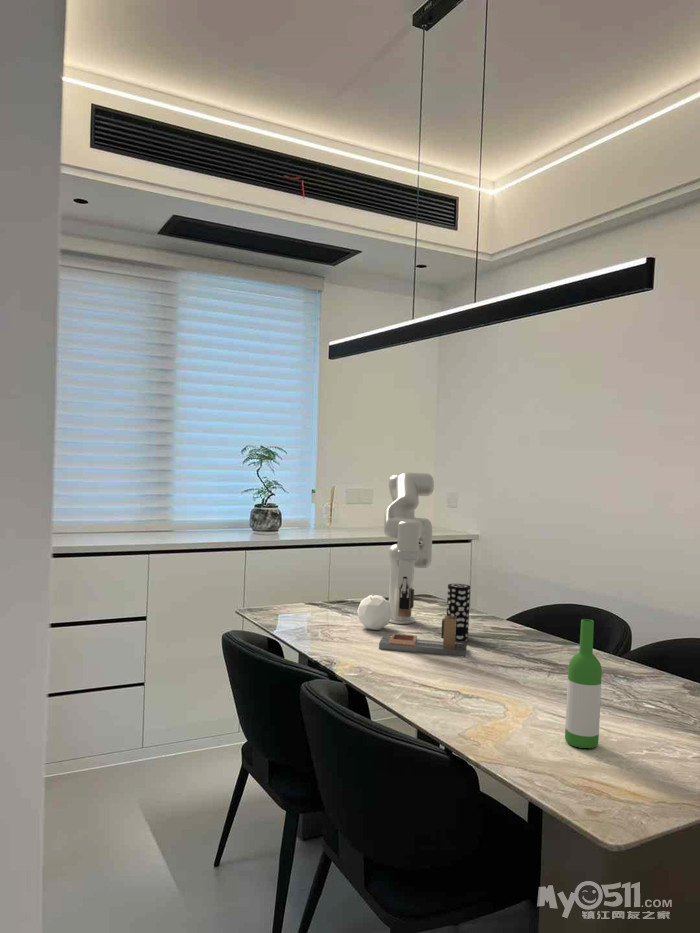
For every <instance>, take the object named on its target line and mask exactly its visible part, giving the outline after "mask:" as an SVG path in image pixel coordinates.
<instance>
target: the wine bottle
mask: <svg viewBox="0 0 700 933" xmlns="http://www.w3.org/2000/svg"><path fill="white" fill-rule="evenodd" d="M594 626H595V621H594V620H593V619H587V618H582V619H581V620H580V634H579V651H578V652H577V653H576V654H574V655H573V656H572V658H570V661H569V663H568V671H567V688H566V689H567V690H566V706H565V723H564V724H565V726H564V728H565V730H564V739H565V741H566V743H567V744H568V745H569V744H570V746H571V745H572V746H571V747H573V746H575V747H574V748H576V747H579V748H578V749H580V748H593V749H595V748H597V746H598V744H599V739H600V738H599V737H600V736H599V735H600V720H601V696H602V676H603V675H602V674H603V669H602V665H601V662H600V661H599V659H598V658H597V657H596V656H595V654H594V653H593V648H594ZM594 747H595V748H594Z"/></svg>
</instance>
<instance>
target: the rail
mask: <svg viewBox="0 0 700 933" xmlns="http://www.w3.org/2000/svg"><path fill="white" fill-rule="evenodd" d="M456 618H457V616H447V614H445V616H444V618H442V620H441V632H440V634H441V635H440V636H441V637H440V638H441V639H442V641H438V640H429V639H419V638H418V635H412V634H405V633H404V634H401V633H392V634H391V636H385V635H384V636H382V637H381V639H380V641H379V643H378V649H379V650H384V651H385V650H387V651H398V652H406V651H407V652H408V653H409V652H410V653H418V654H430V655H438V656H439V655H440V656H449V657H450V656H452V657H460V658H461V657H462V658H466V657H467V646H468V645H467V643H463V642H462V643H461V642H456V641H455V639H456Z"/></svg>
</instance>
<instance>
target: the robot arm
mask: <svg viewBox="0 0 700 933" xmlns="http://www.w3.org/2000/svg"><path fill="white" fill-rule="evenodd" d="M388 489H389V493H390V497H391V501H392V502H391V503H390V504H389V505H388V507H387V508H386V510H385V511H384V516H383V532H384V535H385V536H386V537H387V538H389V539H394V540H395V539H396V540H397V543H395V544H392V545H391V546H390V547H389V549H388V561H389V583H388V584H389V587H388V602H389V603H390V607H391V611H392V616H391V618H390V621H389V623H390V624H398V625H408V624H413V623H415V622H416V619H415V617H413V616H412V614H411V615H410V617H402V616H398V610H399V588H400V587H401V597H400V609H409V589H411V588H412V589H414V588H413V587H414V586H413V585H414V579H415V569H427V568H429V567H430V566H431V565H432V559H433V558H432V556H433V555H432V554H433V550H432V549H433V525H432V522H431V520H429V519H428V518H425V517H415V510H416V509H417V508H418V506H419V503H420V502H419V500H420V499H419V497H429V496H431V495H432V494H433V492H434V489H435V481H434V477H433V476H432V475H431V474H430V473H426V472H425V473H424V472H403V473H400V474H399V473H398V474H393V475H391V476H390V477H389V478H388ZM406 587H408V589H406ZM412 609H413V608H411V611H412Z"/></svg>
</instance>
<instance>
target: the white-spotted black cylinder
mask: <svg viewBox="0 0 700 933" xmlns="http://www.w3.org/2000/svg"><path fill="white" fill-rule="evenodd" d="M446 599H447V600H446V616H457V618H456V639H455V643H461V642H462V643H463V642H467V641H469V626H470V625H469V623H470V606H471V604H470V602H471V586H470V585H469V584H463V583H448V584H447V598H446Z"/></svg>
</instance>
